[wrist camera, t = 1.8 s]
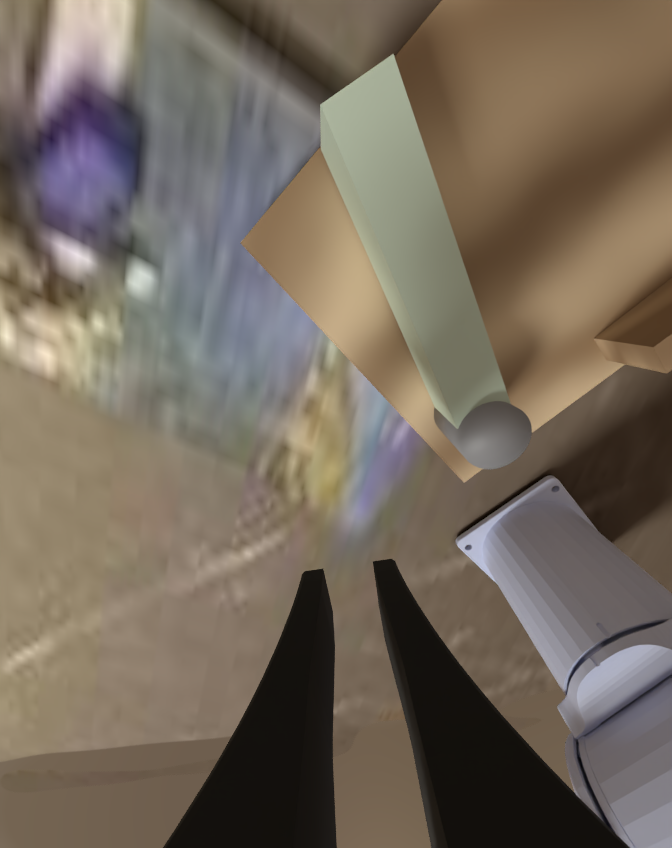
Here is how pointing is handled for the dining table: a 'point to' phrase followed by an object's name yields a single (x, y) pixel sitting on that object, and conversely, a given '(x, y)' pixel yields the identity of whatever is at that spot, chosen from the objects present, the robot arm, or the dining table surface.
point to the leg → (419, 263)
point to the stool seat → (514, 203)
